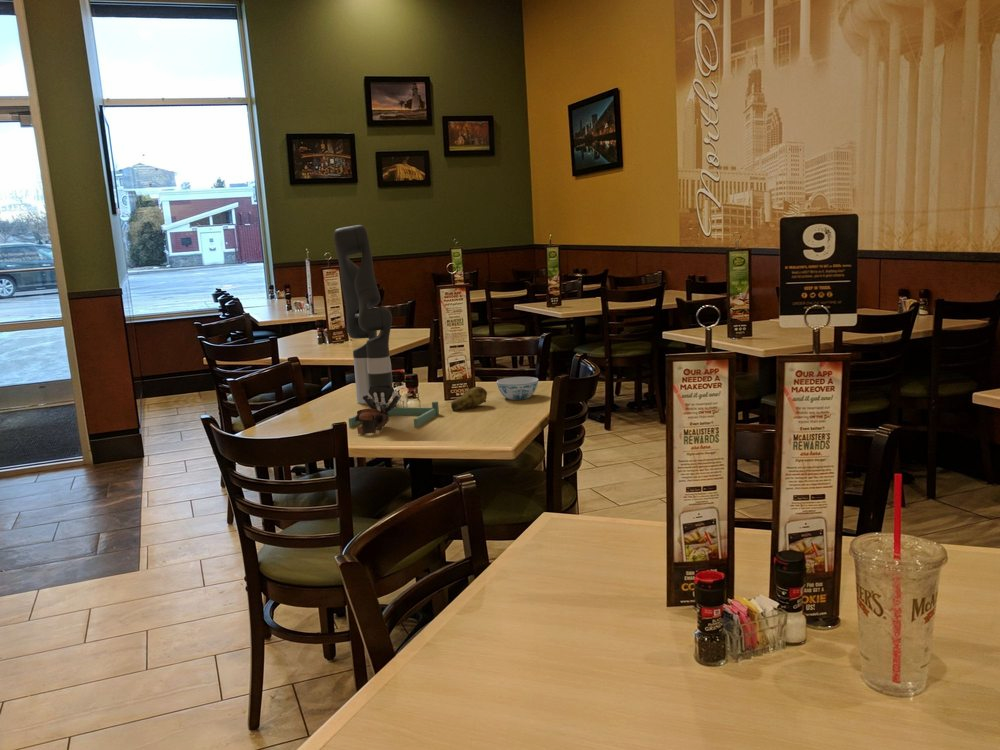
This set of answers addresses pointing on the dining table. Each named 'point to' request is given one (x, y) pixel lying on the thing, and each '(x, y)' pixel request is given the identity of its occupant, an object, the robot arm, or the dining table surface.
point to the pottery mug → (370, 420)
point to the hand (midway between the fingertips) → (384, 423)
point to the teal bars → (423, 412)
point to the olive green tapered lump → (470, 399)
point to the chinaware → (517, 387)
